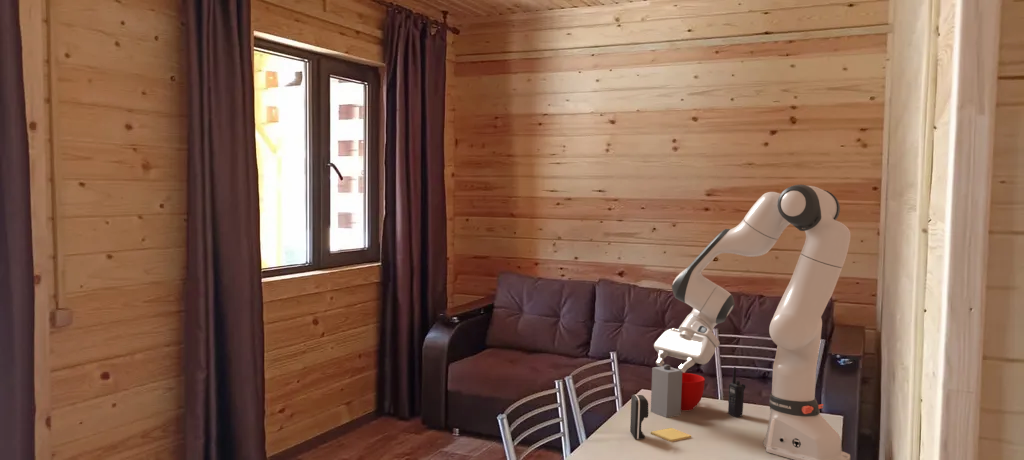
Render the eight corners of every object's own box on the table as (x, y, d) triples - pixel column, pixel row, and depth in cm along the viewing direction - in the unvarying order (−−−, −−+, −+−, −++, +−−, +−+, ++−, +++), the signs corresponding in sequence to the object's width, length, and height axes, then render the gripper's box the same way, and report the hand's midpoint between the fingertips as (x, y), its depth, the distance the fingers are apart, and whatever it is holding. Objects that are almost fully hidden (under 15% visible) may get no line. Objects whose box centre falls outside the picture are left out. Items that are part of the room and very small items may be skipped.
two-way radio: (725, 413, 239) (727, 366, 239) (738, 412, 241) (740, 365, 240) (735, 418, 234) (737, 370, 233) (748, 417, 235) (750, 369, 235)
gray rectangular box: (680, 414, 236) (682, 366, 235) (666, 417, 233) (668, 368, 232) (663, 408, 242) (665, 361, 241) (649, 411, 239) (651, 363, 238)
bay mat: (691, 437, 214) (691, 435, 214) (670, 442, 209) (670, 439, 209) (670, 429, 221) (671, 427, 220) (650, 433, 216) (650, 431, 216)
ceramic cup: (707, 402, 251) (709, 372, 251) (700, 415, 235) (701, 384, 235) (668, 397, 256) (669, 368, 255) (658, 410, 240) (660, 379, 240)
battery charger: (648, 440, 210) (649, 399, 210) (634, 440, 210) (636, 399, 210) (642, 432, 217) (644, 393, 217) (629, 432, 217) (631, 392, 217)
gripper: (664, 320, 237) (640, 354, 232) (714, 330, 219) (688, 367, 215) (674, 333, 239) (650, 367, 234) (724, 344, 222) (699, 381, 217)
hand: (669, 367), depth 224 cm, fingers open, 8 cm apart
